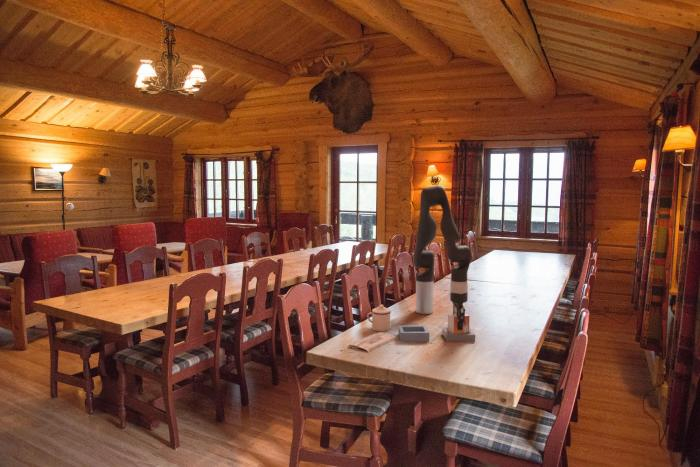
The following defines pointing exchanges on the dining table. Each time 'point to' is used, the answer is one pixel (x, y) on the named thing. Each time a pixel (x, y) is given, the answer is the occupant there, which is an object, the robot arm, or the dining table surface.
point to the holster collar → (458, 335)
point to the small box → (454, 324)
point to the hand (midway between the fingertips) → (458, 327)
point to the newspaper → (373, 341)
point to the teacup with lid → (380, 318)
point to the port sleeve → (414, 333)
